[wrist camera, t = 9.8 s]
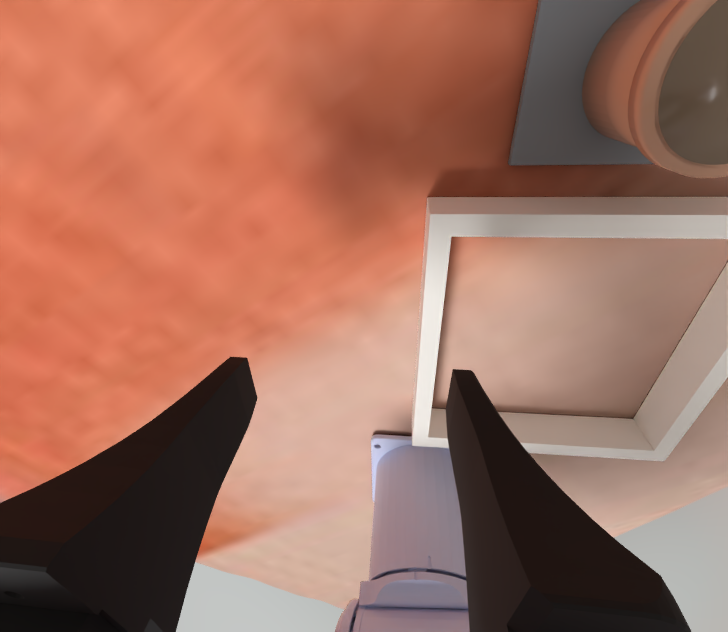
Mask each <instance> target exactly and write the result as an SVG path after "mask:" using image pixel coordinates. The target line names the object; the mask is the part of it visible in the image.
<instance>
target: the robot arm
mask: <svg viewBox="0 0 728 632" xmlns="http://www.w3.org/2000/svg"><path fill="white" fill-rule="evenodd" d="M256 401H257V395H256V391H255V387H254V383H253V379H252V375H251V371H250V367H249V363H248V360H247V358H242V357H230V358H229V359H227V360H226V361H225V362H224V363H222V364H221V365H220V366H219V367H218V368H217V369H215V370H214V371H213V372H212V373H211V374H210V375H208V376H207V377H206V378H205V379H204V380H203V381H201V382H200V383H199V384H198V385H197V386H195V387H194V388H193V389H192V390H190V391H189V392H188V393H187V394H186V395H184V396H183V397H182V398H181V399H179V400H178V401H177V402H175V403H174V404H173V405H172V406H170V407H169V408H168V409H166V410H165V411H164V412H162V413H161V414H160V415H158V416H157V417H156V418H154V419H153V420H152V421H150V422H149V423H147V424H146V425H144V426H143V427H142V428H140V429H139V430H137V431H136V432H134V433H132V434H131V435H129V436H128V437H126V438H125V439H123V440H122V441H120V442H118V443H117V444H115V445H113V446H112V447H110V448H108V449H107V450H105V451H103V452H101V453H100V454H98V455H96V456H95V457H93V458H91V459H89V460H88V461H86V462H84V463H82V464H80V465H79V466H77V467H75V468H73V469H71V470H69V471H67V472H65V473H63V474H61V475H59V476H57V477H55V478H53V479H51V480H49V481H47V482H45V483H43V484H41V485H39V486H37V487H35V488H33V489H31V490H28V491H26V492H24V493H22V494H19V495H17V496H15V497H13V498H11V499H8V500H6V501H4V502H2V503H0V632H176V628H177V624H178V621H179V617H180V613H181V610H182V606H183V602H184V598H185V594H186V591H187V587H188V584H189V581H190V577H191V574H192V571H193V567H194V564H195V560H196V557H197V554H198V551H199V548H200V544H201V541H202V538H203V535H204V532H205V529H206V526H207V523H208V520H209V517H210V514H211V512H212V509H213V506H214V503H215V500H216V497H217V495H218V492H219V490H220V487H221V485H222V483H223V480H224V478H225V476H226V474H227V472H228V470H229V467H230V465H231V463H232V461H233V459H234V457H235V455H236V452H237V450H238V448H239V446H240V444H241V442H242V439H243V437H244V435H245V433H246V431H247V428H248V426H249V423H250V420H251V417H252V414H253V411H254V408H255V404H256ZM446 424H447V438H448V444H449V448H440V447H424V446H412V436H395V435H378V434H377V435H373V436H372V438H371V457H372V495H373V502H374V513H373V527H372V541H371V556H370V570H369V581H361V584H360V595H359V599H352V600H351V601H350V602H349V603H348V605H347V607H346V609H345V610H344V611H343V613H342V614H341V616H340V618H339V621H338V623H337V626H336V630H335V632H691V630H690V628H689V626H688V624H687V622H686V620H685V618H684V616H683V615H682V612H681V610H680V608H679V606H678V604H677V603H676V601H675V599H674V597H673V595H672V594H671V592H670V591H669V589H668V587H667V586H666V584H665V583H664V581H663V579H662V577H661V576H660V575H659V574H658V573H656V572H655V571H654V570H652V569H651V568H650V567H649V566H648V565H646V564H645V563H644V562H643V561H641V560H640V559H639V558H638V557H636V556H635V555H634V554H633V553H631V552H630V551H629V550H628V549H626V548H625V547H624V546H623V545H621V544H620V543H619V542H618V541H616V540H615V539H614V538H613V537H612V536H611V535H609V534H608V533H607V532H606V531H605V530H604V529H603V528H602V527H600V526H599V525H598V524H597V523H596V522H595V521H594V520H592V519H591V518H590V517H589V516H588V515H587V514H586V513H585V512H584V511H583V510H582V509H581V508H580V507H579V506H578V505H577V504H576V503H575V502H574V501H573V500H572V499H571V498H569V497H568V496H567V495H566V494H565V493H564V492H563V491H562V490H561V489H560V488H559V487H558V486H557V484H556V483H555V482H554V481H553V480H552V479H551V478H550V477H549V476H548V475H547V474H546V473H545V472H544V470H543V469H542V468H541V467H540V466H539V465H538V464H537V463H536V461H535V460H534V459H533V458H532V457H531V456H530V454H529V453H528V452H527V451H526V449H525V448H524V447H523V446H522V444H521V443H520V442H519V441H518V439H517V438H516V437H515V435H514V434H513V433H512V431H511V430H510V429H509V427H508V426H507V425H506V423H505V422H504V420H503V419H502V417H501V416H500V415H499V413H498V412H497V410H496V409H495V407H494V406H493V404H492V403H491V401H490V399H489V398H488V396H487V395H486V393H485V391H484V390H483V388H482V386H481V385H480V383H479V381H478V379H477V378H476V376H475V374H474V373H473V372H472V371H471V370H456V369H453V372H452V377H451V383H450V389H449V395H448V400H447V406H446Z"/></svg>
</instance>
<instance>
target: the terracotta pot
mask: <svg viewBox="0 0 728 632" xmlns="http://www.w3.org/2000/svg"><path fill="white" fill-rule="evenodd" d="M582 102H583V108H584V112H585V115H586V117H587V119H588V121H589V123H590V124H591V125H592V127H593V128H594V129H595V130H596V131H597V132H599V133H600V134H602V135H603V136H605V137H608V138H610V139H613V140H616V141H619V142H622V143H625V144H628V145H631V146H634V147H637V148H638V149H639V151H640V152H641V153H642V154H643V155H644V156H645V157H646V158H647V159H648V160H649V161H651V162H652V163H654V164H656V165H657V166H660V167H662V168H665V169H667V170H670V171H673V172H675V173H678V174H681V175H683V176H688V177H693V178H720V177H725V176H728V0H640V1H638V2H637V3H636V4H634V5H633V6H631V7H630V8H629V9H628V10H626V11H625V12H624V13H623V14H622V15H621V16H620V17H619V18H618V19H617V20H616V21H615V22H614V23H613V24H612V25H611V26H610V28H609V29H608V30H607V31H606V32H605V34H604V35H603V37H602V38H601V40H600V41H599V43H598V44H597V46H596V48H595V50H594V51H593V53H592V56H591V58H590V60H589V62H588V65H587V68H586V71H585V75H584V80H583V87H582Z"/></svg>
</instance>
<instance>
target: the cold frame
mask: <svg viewBox="0 0 728 632" xmlns="http://www.w3.org/2000/svg"><path fill="white" fill-rule="evenodd" d="M451 237H551V238H666V239H728V197H427V207H426V221H425V235H424V249H423V263H422V277H421V291H420V305H419V319H418V334H417V348H416V362H415V376H414V390H413V404H412V446H424V447H440V448H449V444H448V438H447V424H446V409H434V408H432V400H433V391H434V383H435V374H436V366H437V357H438V348H439V340H440V331H441V323H442V314H443V305H444V297H445V288H446V280H447V271H448V262H449V254H450V245H451ZM727 377H728V262H727V264H726V266H725V267H724V269H723V271H722V272H721V274H720V276H719V277H718V279H717V281H716V282H715V284H714V286H713V287H712V289H711V291H710V292H709V294H708V296H707V297H706V299H705V301H704V302H703V304H702V306H701V307H700V309H699V311H698V312H697V314H696V316H695V317H694V319H693V321H692V322H691V324H690V326H689V327H688V329H687V331H686V332H685V334H684V335H683V337H682V339H681V340H680V342H679V344H678V345H677V347H676V349H675V350H674V352H673V354H672V355H671V357H670V359H669V360H668V362H667V364H666V365H665V367H664V369H663V370H662V372H661V374H660V375H659V377H658V379H657V380H656V382H655V384H654V385H653V387H652V389H651V390H650V392H649V394H648V395H647V397H646V399H645V400H644V402H643V404H642V405H641V407H640V409H639V410H638V412H637V414H636V415H635V417H634V419H625V418H606V417H587V416H568V415H549V414H530V413H511V412H498V413H499V415H500V416H501V417H502V419H503V420H504V422H505V423H506V425H507V426H508V427H509V429H510V430H511V431H512V433H513V434H514V435H515V437H516V438H517V439H518V441H519V442H520V443H521V444H522V446H523V447H524V448H525V449H526V451H527V452H528V453H536V454H552V455H569V456H585V457H601V458H617V459H633V460H649V461H665V460H666V458H667V457H668V456H669V454H670V453H671V452H672V450H673V449H674V448H675V446H676V445H677V444H678V442H679V441H680V440H681V439H682V437H683V436H684V435H685V433H686V432H687V431H688V429H689V428H690V427H691V425H692V424H693V423H694V421H695V420H696V419H697V417H698V416H699V415H700V413H701V412H702V411H703V409H704V408H705V407H706V405H707V404H708V403H709V401H710V400H711V399H712V397H713V396H714V395H715V393H716V392H717V391H718V389H719V388H720V387H721V385H722V384H723V383H724V381H725V380H726V379H727Z"/></svg>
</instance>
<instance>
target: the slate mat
mask: <svg viewBox="0 0 728 632" xmlns="http://www.w3.org/2000/svg"><path fill="white" fill-rule="evenodd" d="M638 1H640V0H538V5H537V11H536V16H535V21H534V27H533V32H532V37H531V43H530V48H529V53H528V59H527V64H526V69H525V75H524V80H523V85H522V91H521V96H520V101H519V107H518V112H517V117H516V123H515V128H514V133H513V139H512V144H511V149H510V155H509V160H508V164H509V165H606V164H654V163H652V162H651V161H649V160H648V159H647V158H646V157H645V156H644V155H643V154H642V153H641V152H640V151H639V149H638V148H637V147H634V146H631V145H628V144H625V143H622V142H619V141H616V140H613V139H610V138H608V137H605V136H603V135H602V134H600V133H599V132H597V131H596V130H595V129H594V128H593V127H592V125H591V124H590V123H589V121H588V119H587V117H586V115H585V112H584V108H583V102H582V87H583V80H584V75H585V71H586V68H587V65H588V62H589V60H590V58H591V56H592V53H593V51H594V50H595V48H596V46H597V44H598V43H599V41H600V40H601V38H602V37H603V35H604V34H605V32H606V31H607V30H608V29H609V28H610V26H611V25H612V24H613V23H614V22H615V21H616V20H617V19H618V18H619V17H620V16H621V15H622V14H623V13H624V12H625V11H626V10H628V9H629V8H630V7H631V6H633V5H634V4H636V3H637V2H638Z"/></svg>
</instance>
